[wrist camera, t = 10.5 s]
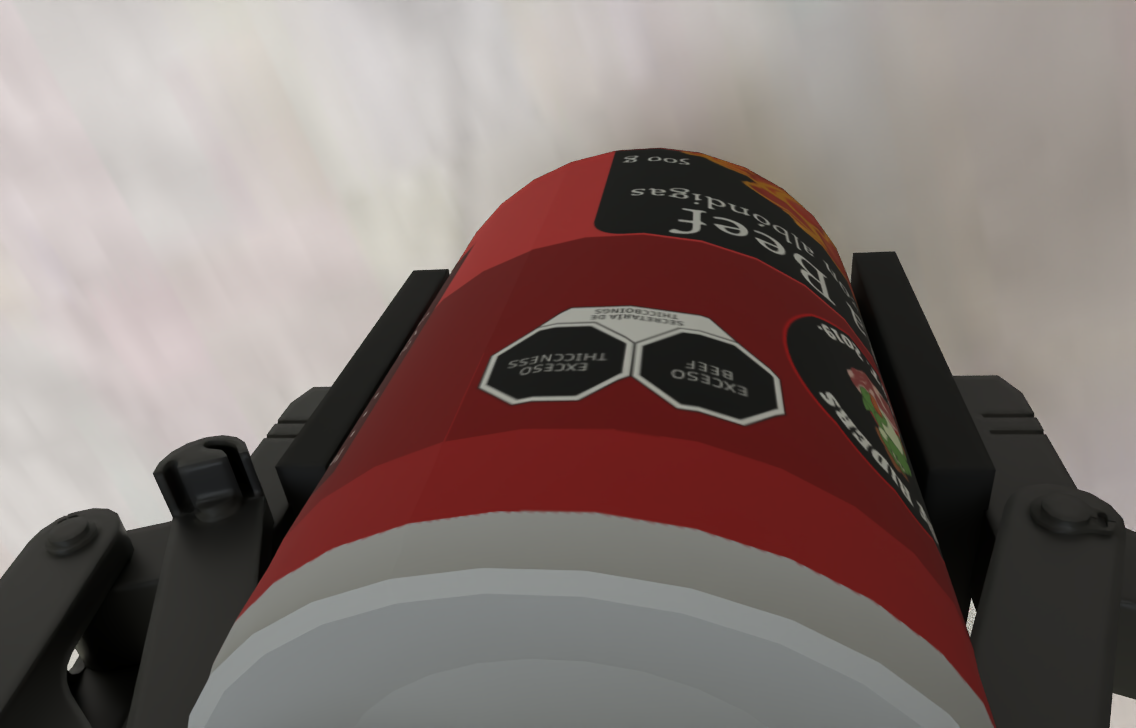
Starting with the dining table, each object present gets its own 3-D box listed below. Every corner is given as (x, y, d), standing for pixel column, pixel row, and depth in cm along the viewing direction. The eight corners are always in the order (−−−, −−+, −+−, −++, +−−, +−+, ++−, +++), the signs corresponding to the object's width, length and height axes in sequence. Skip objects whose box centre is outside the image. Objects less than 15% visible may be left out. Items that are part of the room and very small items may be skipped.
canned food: (918, 362, 17) (1175, 990, 8) (602, 515, 20) (509, 1083, 11) (709, 38, 14) (709, 385, 5) (386, 276, 18) (22, 750, 8)
